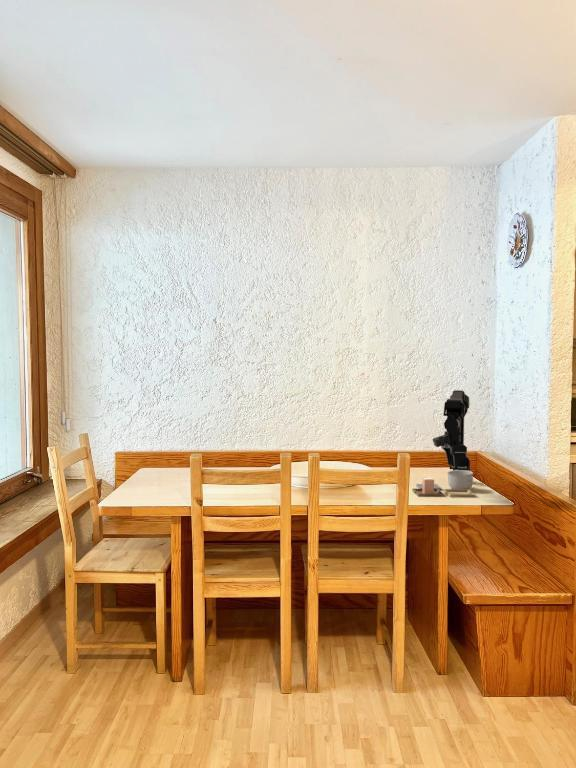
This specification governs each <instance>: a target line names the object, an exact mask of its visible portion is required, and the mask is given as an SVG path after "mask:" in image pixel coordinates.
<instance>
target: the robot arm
mask: <svg viewBox="0 0 576 768" xmlns="http://www.w3.org/2000/svg"><path fill="white" fill-rule="evenodd" d="M469 409H470V397H469V396H468V395H467V394H466V393H465V390H459V389H457V390H456V389H455V390H453V391H452V394H451V395H450V396H449V398H447V399H446V401H444V406H443V415H442V416H444V417H446V419H445V420H444V422H443V427H444V429H445V431H444V434H443V435H439V436H436V437H434V438H432V442H433V445H434V446H435V447H436V448H439V447H441V449H442V450H443V451H444V452H445V457H446V460H447V464H448V465H449V470H452V471H454V470H466V471H471V461H470V457H468V447H467V446H466V445H465V417H466V415H467V413H468V411H469Z"/></svg>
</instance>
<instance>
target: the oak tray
mask: <svg viewBox="0 0 576 768" xmlns="http://www.w3.org/2000/svg"><path fill="white" fill-rule="evenodd" d="M442 493H444V495H447V497H449V498H477V494H475V493H474V492H473V491H471V490H470V489H452V488H450V489H447V488H445V489H442Z"/></svg>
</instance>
